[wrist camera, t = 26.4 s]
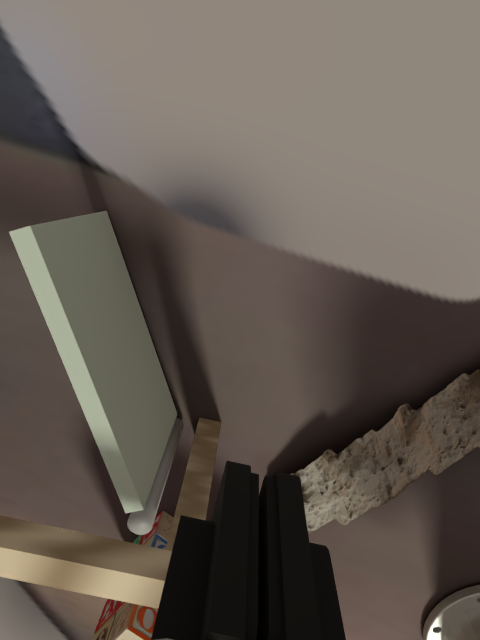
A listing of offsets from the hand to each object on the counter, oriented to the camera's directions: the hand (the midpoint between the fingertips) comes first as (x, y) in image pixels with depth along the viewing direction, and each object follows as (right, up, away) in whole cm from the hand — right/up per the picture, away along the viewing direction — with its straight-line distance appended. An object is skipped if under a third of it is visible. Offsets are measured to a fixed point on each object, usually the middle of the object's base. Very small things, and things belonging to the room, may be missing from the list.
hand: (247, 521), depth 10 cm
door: (-8, +4, +27) cm, 29 cm away
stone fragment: (+10, -3, +28) cm, 30 cm away
